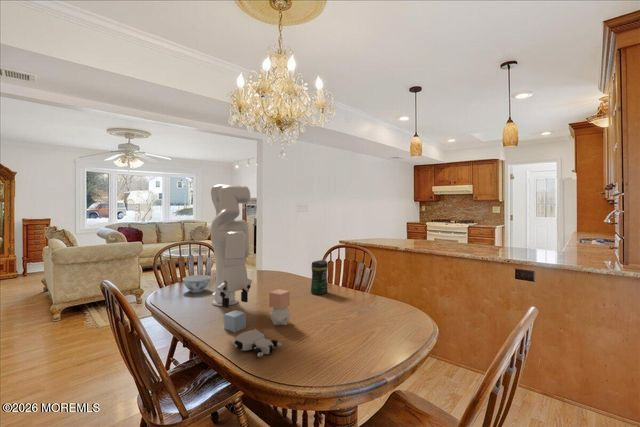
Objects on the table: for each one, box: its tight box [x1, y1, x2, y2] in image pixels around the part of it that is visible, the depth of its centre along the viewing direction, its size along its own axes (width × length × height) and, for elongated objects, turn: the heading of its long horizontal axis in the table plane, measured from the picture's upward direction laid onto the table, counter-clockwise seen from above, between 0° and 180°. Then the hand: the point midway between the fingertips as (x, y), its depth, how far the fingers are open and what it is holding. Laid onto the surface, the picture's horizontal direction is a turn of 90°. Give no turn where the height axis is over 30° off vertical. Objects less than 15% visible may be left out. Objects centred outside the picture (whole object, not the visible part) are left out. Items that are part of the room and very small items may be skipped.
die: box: [269, 306, 291, 326], centre depth 134 cm, size 8×9×10 cm
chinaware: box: [182, 274, 211, 294], centre depth 183 cm, size 15×15×8 cm
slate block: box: [223, 310, 247, 333], centre depth 129 cm, size 6×6×6 cm
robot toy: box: [228, 328, 283, 357], centre depth 110 cm, size 12×4×15 cm
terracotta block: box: [268, 288, 291, 309], centre depth 133 cm, size 6×6×6 cm
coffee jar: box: [310, 259, 329, 295], centre depth 182 cm, size 10×8×19 cm
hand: (235, 304), depth 128 cm, fingers open, 9 cm apart
